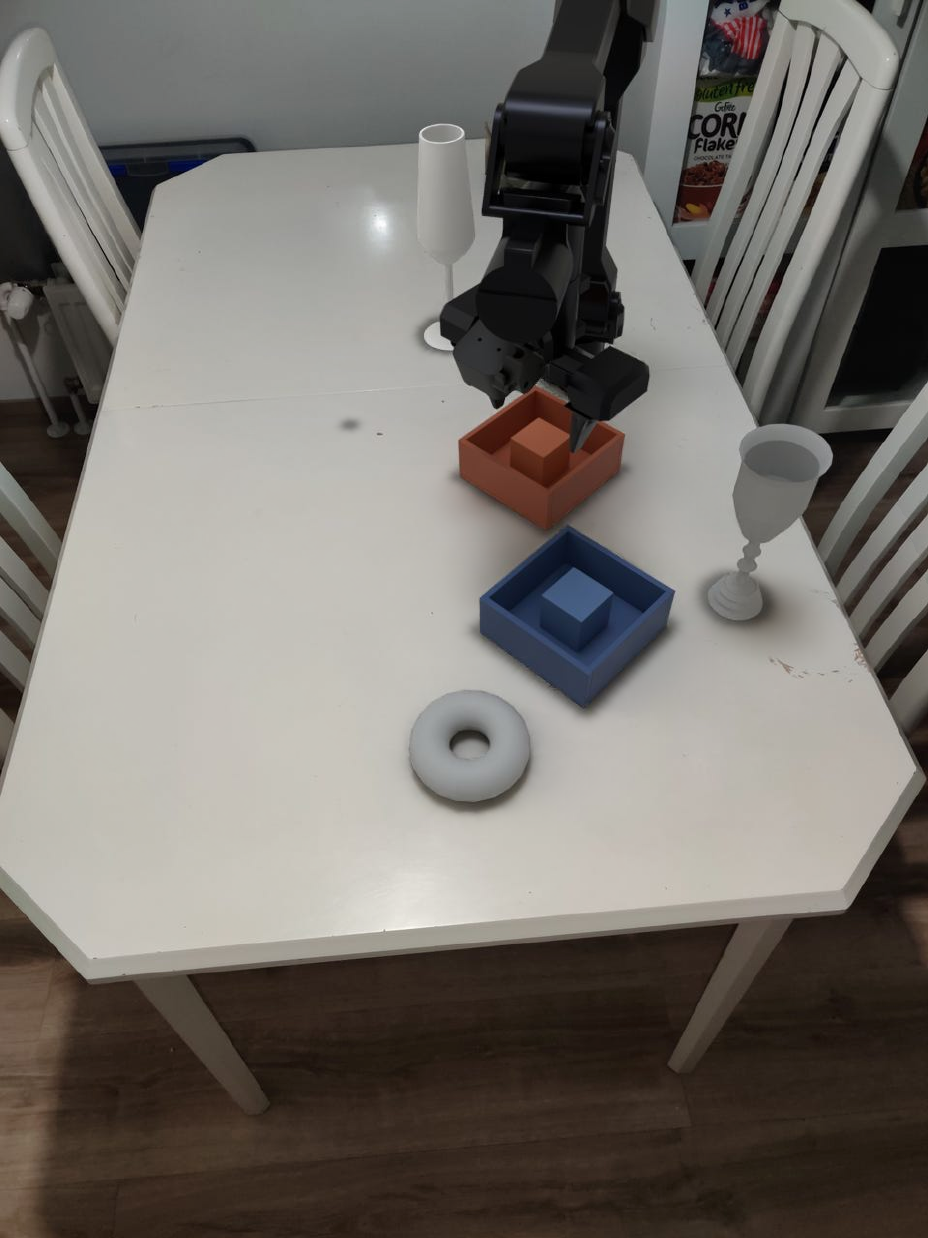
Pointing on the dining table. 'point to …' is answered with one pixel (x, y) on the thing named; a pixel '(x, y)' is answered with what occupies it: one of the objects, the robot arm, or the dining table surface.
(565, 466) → the terracotta block
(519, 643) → the blue bin
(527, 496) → the terracotta bin
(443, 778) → the donut
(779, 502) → the chalice
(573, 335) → the robot arm
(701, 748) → the dining table surface
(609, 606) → the blue block
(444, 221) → the champagne flute
